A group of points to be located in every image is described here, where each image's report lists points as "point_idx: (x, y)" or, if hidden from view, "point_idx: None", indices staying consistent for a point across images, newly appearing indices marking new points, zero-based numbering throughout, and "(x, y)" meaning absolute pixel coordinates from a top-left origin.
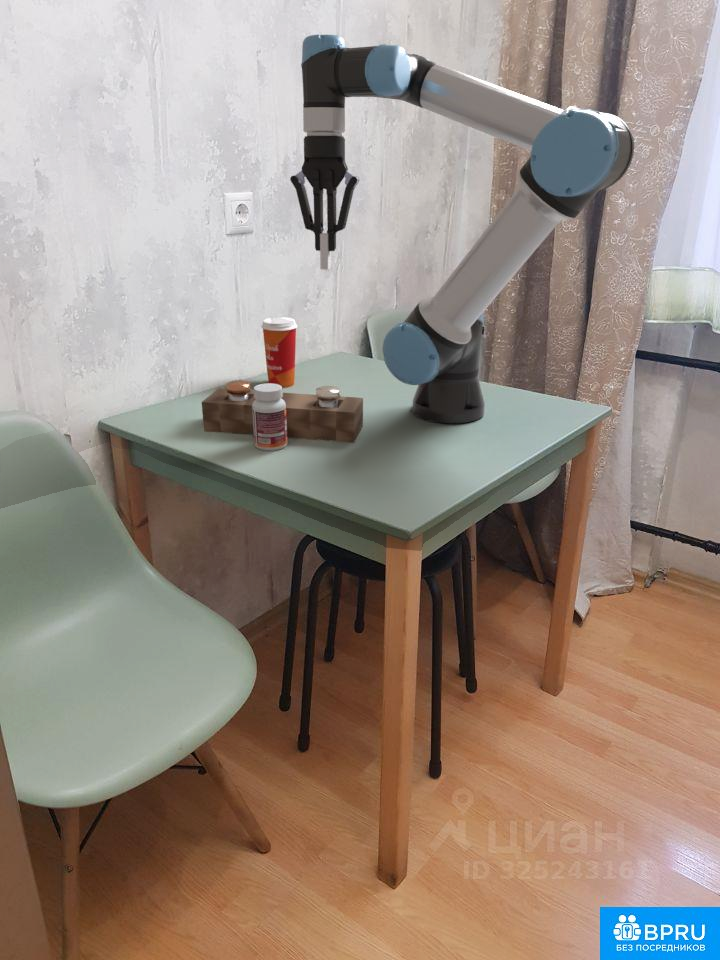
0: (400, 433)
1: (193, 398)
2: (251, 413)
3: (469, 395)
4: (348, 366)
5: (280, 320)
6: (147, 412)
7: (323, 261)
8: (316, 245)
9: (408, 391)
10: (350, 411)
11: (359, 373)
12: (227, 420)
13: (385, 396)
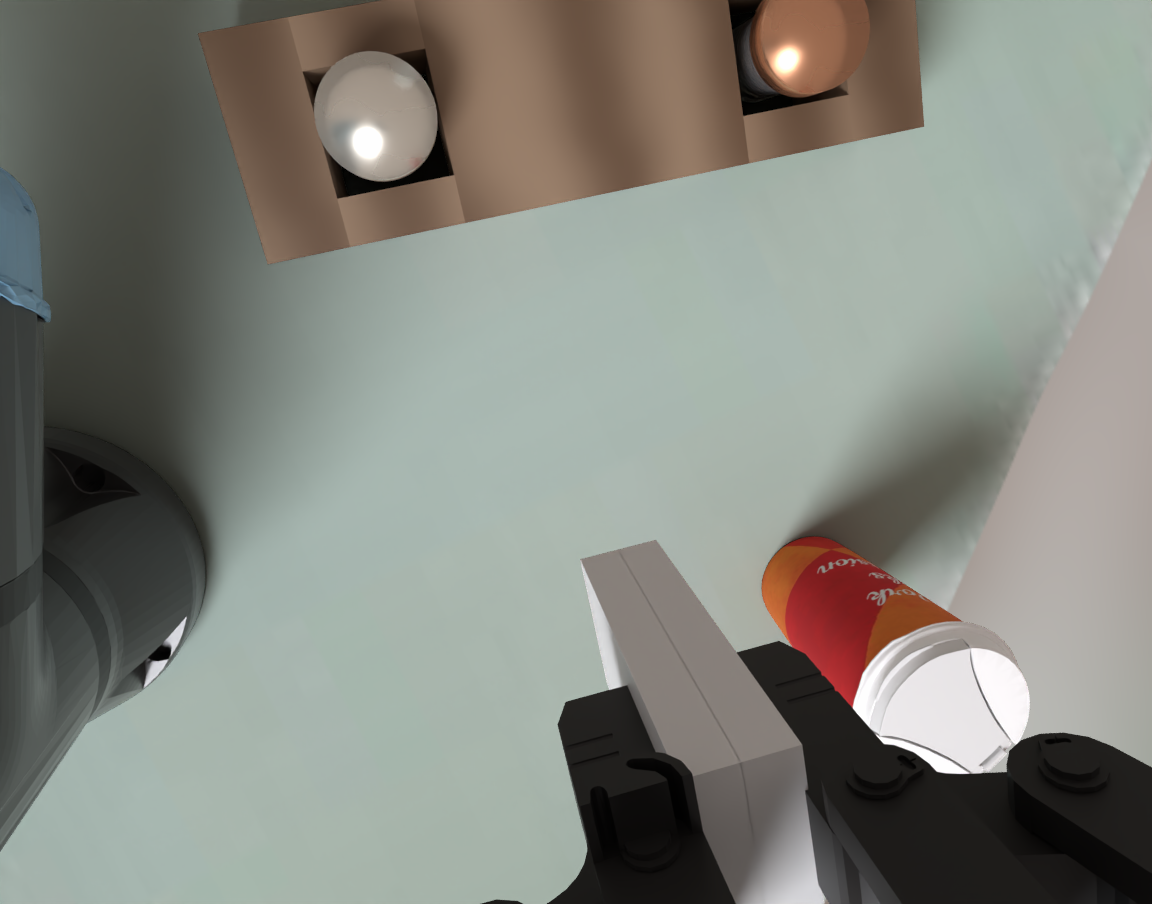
0: (109, 246)
1: (1038, 287)
2: None
3: None
4: None
5: (948, 724)
6: (1127, 67)
7: (644, 580)
8: (799, 672)
9: (315, 722)
10: (222, 42)
11: None
12: None
13: (373, 628)
